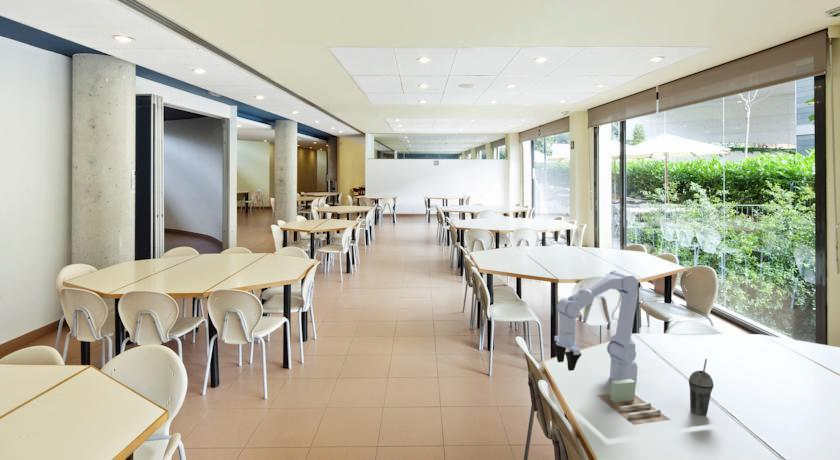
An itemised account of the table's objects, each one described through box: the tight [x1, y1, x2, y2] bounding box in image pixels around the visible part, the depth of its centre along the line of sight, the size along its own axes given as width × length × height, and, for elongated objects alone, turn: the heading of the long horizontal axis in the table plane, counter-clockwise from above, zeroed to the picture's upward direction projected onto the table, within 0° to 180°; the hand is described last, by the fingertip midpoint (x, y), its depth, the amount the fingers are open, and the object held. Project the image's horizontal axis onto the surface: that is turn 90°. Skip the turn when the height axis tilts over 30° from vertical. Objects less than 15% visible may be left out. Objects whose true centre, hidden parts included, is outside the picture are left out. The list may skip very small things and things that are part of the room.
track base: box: [596, 393, 671, 426], centre depth 158 cm, size 14×20×3 cm
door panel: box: [610, 379, 637, 403], centre depth 163 cm, size 8×2×7 cm, turn 103°
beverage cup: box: [688, 358, 714, 417], centre depth 154 cm, size 7×7×20 cm
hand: (565, 365), depth 171 cm, fingers open, 7 cm apart
